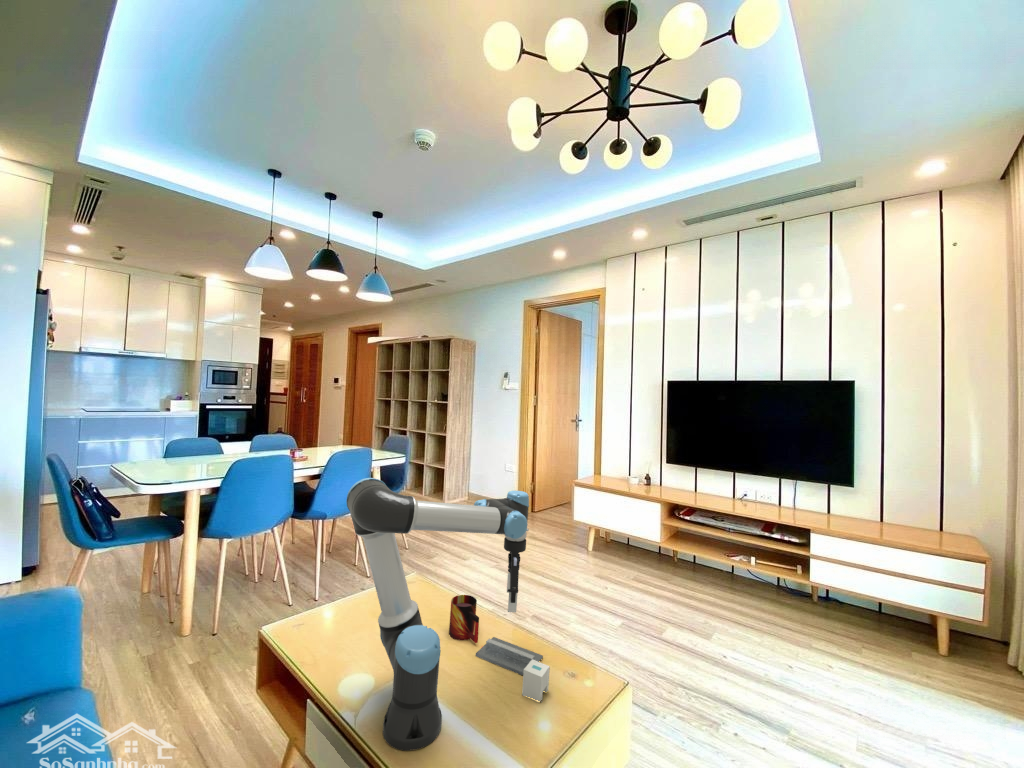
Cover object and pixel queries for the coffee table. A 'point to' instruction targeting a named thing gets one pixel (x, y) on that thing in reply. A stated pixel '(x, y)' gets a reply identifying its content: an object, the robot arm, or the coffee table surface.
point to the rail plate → (507, 655)
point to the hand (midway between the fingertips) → (511, 601)
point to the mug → (464, 618)
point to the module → (535, 680)
